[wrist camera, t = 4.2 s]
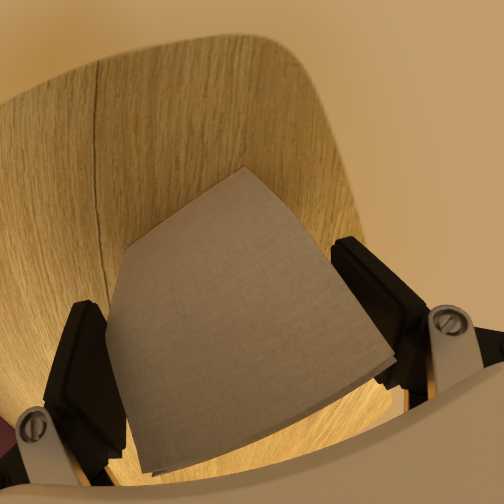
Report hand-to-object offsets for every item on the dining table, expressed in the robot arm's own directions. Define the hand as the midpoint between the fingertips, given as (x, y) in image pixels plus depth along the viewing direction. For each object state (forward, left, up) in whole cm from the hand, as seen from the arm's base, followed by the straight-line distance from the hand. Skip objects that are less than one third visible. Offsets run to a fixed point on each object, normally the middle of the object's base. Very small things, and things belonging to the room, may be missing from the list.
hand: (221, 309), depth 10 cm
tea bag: (0, 0, -6) cm, 6 cm away
